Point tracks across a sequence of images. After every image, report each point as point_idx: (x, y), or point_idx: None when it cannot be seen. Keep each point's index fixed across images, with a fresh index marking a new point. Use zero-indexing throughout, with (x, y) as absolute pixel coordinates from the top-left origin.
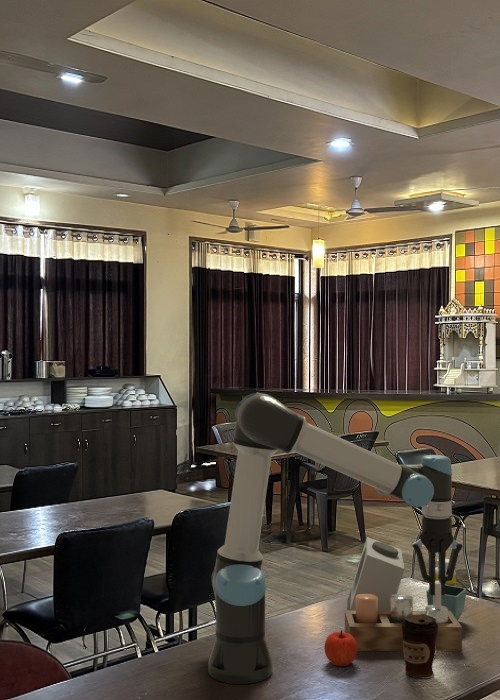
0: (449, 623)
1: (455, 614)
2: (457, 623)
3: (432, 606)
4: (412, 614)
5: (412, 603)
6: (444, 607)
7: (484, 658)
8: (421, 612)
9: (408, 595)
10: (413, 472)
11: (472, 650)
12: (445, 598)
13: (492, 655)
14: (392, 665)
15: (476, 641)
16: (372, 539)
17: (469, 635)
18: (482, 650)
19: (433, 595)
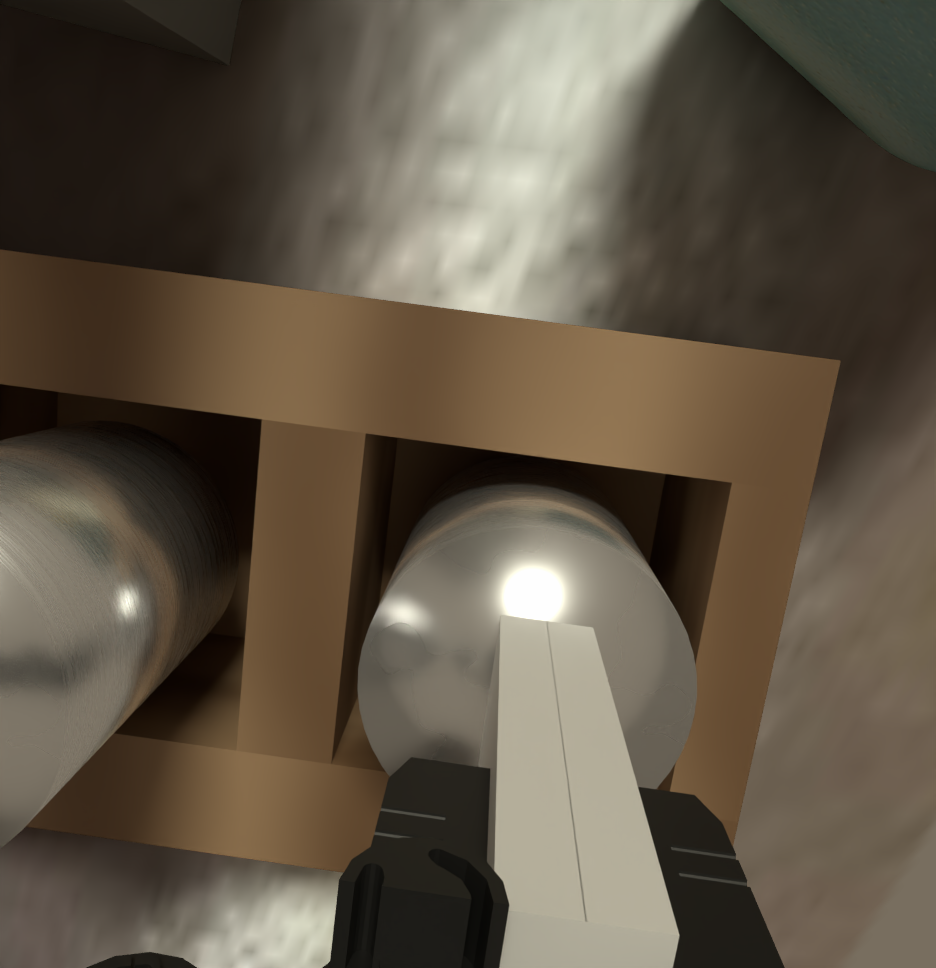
0: (687, 591)
1: None
2: (716, 813)
3: (492, 603)
4: (174, 660)
5: (98, 737)
6: (664, 670)
7: (780, 923)
8: (400, 374)
9: (13, 605)
10: None
11: (761, 764)
12: None
13: (879, 879)
14: (14, 944)
15: (904, 575)
16: None
17: (915, 417)
18: (849, 775)
19: (493, 731)
